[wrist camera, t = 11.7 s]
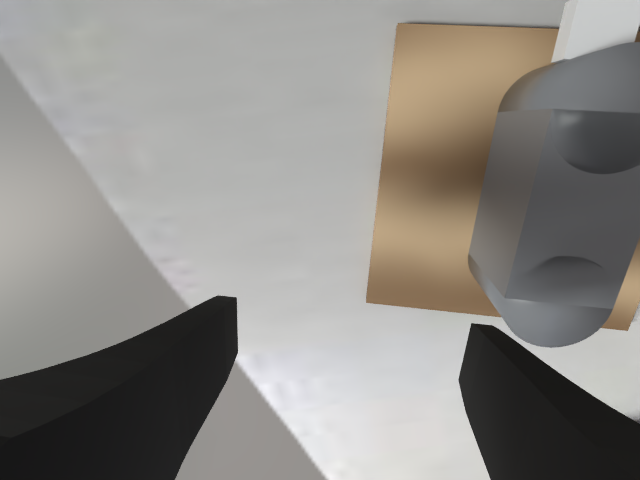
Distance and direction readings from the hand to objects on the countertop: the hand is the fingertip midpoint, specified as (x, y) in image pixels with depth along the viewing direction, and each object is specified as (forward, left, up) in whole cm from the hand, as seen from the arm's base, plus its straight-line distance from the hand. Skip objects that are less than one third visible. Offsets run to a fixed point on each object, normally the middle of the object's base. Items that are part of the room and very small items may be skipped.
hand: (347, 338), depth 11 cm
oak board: (+4, -8, -9) cm, 13 cm away
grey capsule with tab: (+4, -8, -9) cm, 12 cm away
